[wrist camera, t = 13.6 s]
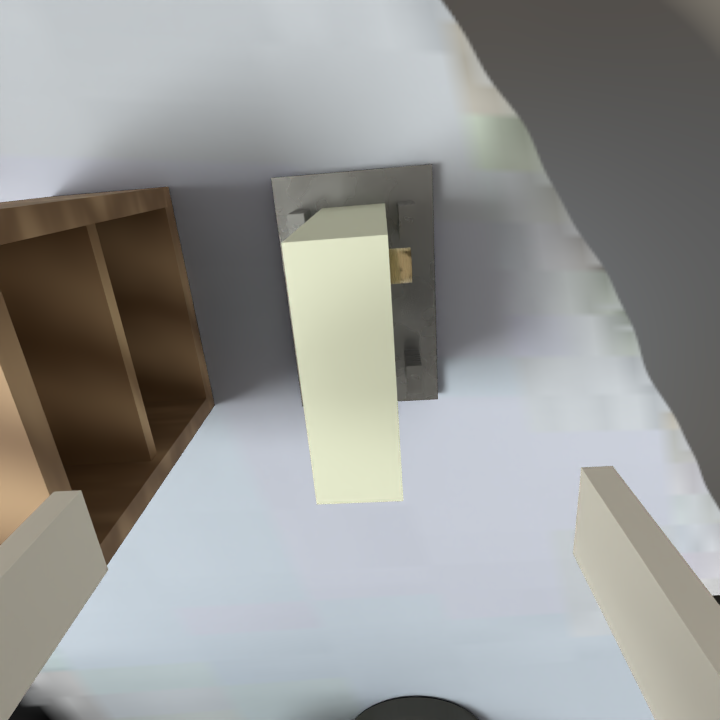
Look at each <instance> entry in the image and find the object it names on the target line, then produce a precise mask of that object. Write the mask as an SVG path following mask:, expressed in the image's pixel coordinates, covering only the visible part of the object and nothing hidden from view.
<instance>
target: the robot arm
mask: <svg viewBox="0 0 720 720" xmlns="http://www.w3.org/2000/svg"><path fill="white" fill-rule="evenodd" d="M573 555H574V557H575V559H576V561H577V563H578V565H579V567H580V569H581V571H582V573H583V575H584V577H585V579H586V581H587V583H588V585H589V587H590V589H591V591H592V593H593V595H594V597H595V599H596V601H597V603H598V605H599V607H600V609H601V611H602V613H603V615H604V617H605V619H606V621H607V623H608V625H609V627H610V629H611V631H612V633H613V635H614V637H615V639H616V642H617V644H618V646H619V648H620V650H621V652H622V654H623V656H624V658H625V660H626V662H627V664H628V666H629V668H630V670H631V672H632V674H633V676H634V678H635V680H636V682H637V684H638V686H639V688H640V690H641V692H642V694H643V696H644V698H645V700H646V702H647V704H648V706H649V708H650V710H651V712H652V714H653V716H654V718H655V720H720V595H717V596H712V595H711V594H710V592H709V591H708V590H707V588H706V587H705V586H704V584H703V583H702V582H701V581H700V579H699V578H698V577H697V575H696V574H695V573H694V571H693V570H692V569H691V568H690V566H689V565H688V564H687V562H686V561H685V560H684V558H683V557H682V556H681V555H680V553H679V552H678V551H677V549H676V548H675V547H674V545H673V544H672V543H671V541H670V540H669V539H668V538H667V536H666V535H665V534H664V532H663V531H662V530H661V528H660V527H659V526H658V525H657V523H656V522H655V521H654V519H653V518H652V517H651V515H650V514H649V513H648V512H647V510H646V509H645V508H644V506H643V505H642V504H641V502H640V501H639V500H638V499H637V497H636V496H635V495H634V493H633V492H632V491H631V489H630V488H629V487H628V486H627V484H626V483H625V482H624V480H623V479H622V478H621V476H620V475H619V474H618V473H617V471H616V470H615V469H614V467H613V466H604V467H582V468H581V476H580V486H579V497H578V507H577V517H576V528H575V538H574V549H573ZM107 571H108V568H107V565H106V562H105V559H104V556H103V553H102V550H101V547H100V544H99V541H98V539H97V536H96V533H95V530H94V527H93V524H92V521H91V518H90V515H89V512H88V509H87V506H86V503H85V500H84V497H83V494H82V491H81V490H78V491H56V492H53V493H52V494H51V495H50V496H49V497H48V498H47V499H46V500H45V501H44V502H43V503H42V504H41V505H40V506H39V507H38V508H37V509H36V510H35V511H34V512H33V513H32V514H31V515H30V516H29V517H28V518H27V519H26V520H25V521H24V522H23V523H22V524H21V525H20V526H19V527H18V528H17V529H16V530H15V531H14V532H13V533H12V534H11V535H10V536H9V537H8V538H7V539H6V540H5V541H4V542H3V543H2V544H1V545H0V720H8V719H9V717H10V716H11V714H12V713H13V711H14V710H15V708H16V707H17V705H18V704H19V702H20V701H21V699H22V698H23V696H24V695H25V693H26V692H27V690H28V689H29V687H30V686H31V684H32V683H33V681H34V680H35V678H36V677H37V675H38V674H39V672H40V671H41V669H42V668H43V666H44V665H45V663H46V662H47V660H48V659H49V657H50V656H51V655H52V653H53V652H54V650H55V649H56V647H57V646H58V644H59V643H60V641H61V640H62V638H63V637H64V635H65V634H66V632H67V631H68V629H69V628H70V626H71V625H72V623H73V622H74V620H75V619H76V617H77V616H78V614H79V613H80V611H81V610H82V608H83V607H84V605H85V604H86V602H87V601H88V599H89V598H90V596H91V595H92V593H93V592H94V590H95V589H96V587H97V586H98V584H99V583H100V581H101V580H102V578H103V577H104V575H105V574H106V572H107ZM355 720H478V719H477V718H476V717H475V716H474V715H472V714H471V713H470V712H468V711H467V710H465V709H463V708H461V707H459V706H457V705H455V704H452V703H449V702H446V701H442V700H438V699H432V698H421V697H410V698H400V699H394V700H390V701H386V702H383V703H380V704H377V705H375V706H373V707H371V708H369V709H367V710H366V711H364V712H363V713H362V714H360V715H359V716H358V717H357V718H356V719H355Z"/></svg>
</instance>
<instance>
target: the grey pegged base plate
mask: <svg viewBox="0 0 720 720" xmlns="http://www.w3.org/2000/svg"><path fill="white" fill-rule="evenodd" d="M271 182H272V190H273V197H274V204H275V211H276V219H277V226H278V233H279V240H280V248H281V255H282V262H283V269H284V277H285V284H286V291H287V298H288V306H289V313H290V320H291V327H292V335H293V342H294V349H295V356H296V364H297V371H298V378H299V385H300V393H301V400H302V406H303V399H302V392H301V384H300V377H299V370H298V362H297V355H296V348H295V340H294V333H293V326H292V318H291V311H290V304H289V296H288V289H287V282H286V275H285V267H284V260H283V253H282V245H281V243H282V242H283V241H284V240H285V239H286V238H287V237H289V236H290V235H291V234H292V233H293V232H295V231H296V230H297V229H298V228H299V227H300V226H302V225H303V224H304V223H305V222H306V221H308V220H309V219H310V218H311V217H312V216H313V215H315V214H316V213H317V212H318V211H319V210H320V209H322V208H331V207H344V206H356V205H369V204H381V203H385V210H386V221H387V232H388V247H389V249H394V248H408V247H410V248H411V258H412V283H402V284H391V299H392V316H393V333H394V351H395V368H396V385H397V401H413V400H431V399H438V388H437V347H436V306H435V266H434V225H433V184H432V164H429V165H417V166H406V167H394V168H382V169H370V170H359V171H347V172H335V173H323V174H311V175H300V176H288V177H276V178H271Z"/></svg>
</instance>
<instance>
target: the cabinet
mask: <svg viewBox="0 0 720 720" xmlns="http://www.w3.org/2000/svg"><path fill="white" fill-rule="evenodd" d="M214 406H215V405H214V400H213V395H212V391H211V386H210V381H209V376H208V372H207V367H206V362H205V358H204V353H203V348H202V343H201V339H200V334H199V329H198V324H197V320H196V315H195V310H194V305H193V301H192V296H191V291H190V287H189V282H188V277H187V272H186V268H185V263H184V258H183V253H182V249H181V244H180V239H179V234H178V230H177V225H176V220H175V216H174V211H173V206H172V201H171V197H170V192H169V187H159V188H147V189H135V190H123V191H112V192H100V193H88V194H76V195H65V196H53V197H44V198H35V199H26V200H18V201H9V202H1V203H0V545H1V544H2V543H3V542H4V541H5V540H6V539H7V538H8V537H9V536H10V535H11V534H12V533H13V532H14V531H15V530H16V529H17V528H18V527H19V526H20V525H21V524H22V523H23V522H24V521H25V520H26V519H27V518H28V517H29V516H30V515H31V514H32V513H33V512H34V511H35V510H36V509H37V508H38V507H39V506H40V505H41V504H42V503H43V502H44V501H45V500H46V499H47V498H48V497H49V496H50V495H51V494H52V493H53V492H56V491H78V490H81V491H82V494H83V497H84V500H85V503H86V506H87V509H88V512H89V515H90V518H91V521H92V524H93V527H94V530H95V533H96V536H97V539H98V541H99V544H100V547H101V550H102V553H103V556H104V559H105V562H106V565H108V563H109V562H110V560H111V559H112V557H113V556H114V554H115V553H116V551H117V550H118V548H119V547H120V545H121V544H122V542H123V541H124V539H125V538H126V536H127V535H128V533H129V532H130V530H131V529H132V527H133V526H134V524H135V523H136V521H137V520H138V518H139V517H140V516H141V514H142V513H143V511H144V510H145V508H146V507H147V505H148V504H149V502H150V501H151V499H152V498H153V496H154V495H155V493H156V492H157V490H158V489H159V487H160V486H161V484H162V483H163V481H164V480H165V478H166V477H167V475H168V474H169V472H170V471H171V469H172V468H173V466H174V465H175V463H176V462H177V461H178V459H179V458H180V456H181V455H182V453H183V452H184V450H185V449H186V447H187V446H188V444H189V443H190V441H191V440H192V438H193V437H194V435H195V434H196V432H197V431H198V429H199V428H200V426H201V425H202V423H203V422H204V420H205V419H206V417H207V416H208V414H209V413H210V411H211V410H212V409H213V407H214Z"/></svg>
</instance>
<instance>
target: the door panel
mask: <svg viewBox="0 0 720 720" xmlns="http://www.w3.org/2000/svg"><path fill="white" fill-rule="evenodd" d="M281 245H282V253H283V260H284V267H285V275H286V282H287V289H288V296H289V304H290V311H291V318H292V326H293V333H294V340H295V348H296V355H297V362H298V370H299V377H300V384H301V392H302V399H303V406H304V413H305V421H306V428H307V435H308V443H309V450H310V457H311V465H312V472H313V479H314V487H315V494H316V501H317V504H339V503H364V502H388V501H403V489H402V471H401V454H400V437H399V420H398V402H397V385H396V368H395V351H394V333H393V316H392V299H391V284H402V283H412V258H411V248H410V247H408V248H394V249H389V247H388V232H387V221H386V210H385V203H381V204H369V205H356V206H344V207H331V208H322V209H320V210H319V211H318V212H317V213H316V214H315V215H313V216H312V217H311V218H310V219H309V220H308V221H306V222H305V223H304V224H303V225H302V226H300V227H299V228H298V229H297V230H296V231H295V232H293V233H292V234H291V235H290V236H289V237H287V238H286V239H285V240H284V241H283V242H282V243H281Z"/></svg>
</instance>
